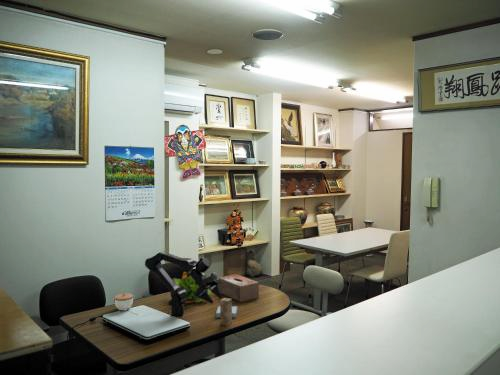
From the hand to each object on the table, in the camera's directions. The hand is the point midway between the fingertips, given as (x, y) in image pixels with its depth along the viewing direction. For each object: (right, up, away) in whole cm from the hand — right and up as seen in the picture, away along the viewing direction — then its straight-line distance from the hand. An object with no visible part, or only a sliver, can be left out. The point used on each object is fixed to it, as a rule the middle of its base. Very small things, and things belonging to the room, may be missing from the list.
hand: (217, 300), depth 219 cm
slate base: (+5, -11, +12) cm, 17 cm away
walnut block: (+5, -12, -2) cm, 13 cm away
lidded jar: (-57, -11, +22) cm, 62 cm away
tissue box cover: (+10, -10, +48) cm, 50 cm away
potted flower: (-21, -10, +36) cm, 43 cm away
